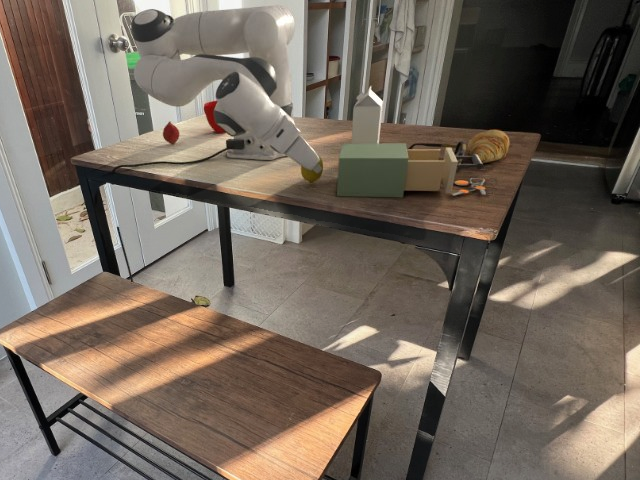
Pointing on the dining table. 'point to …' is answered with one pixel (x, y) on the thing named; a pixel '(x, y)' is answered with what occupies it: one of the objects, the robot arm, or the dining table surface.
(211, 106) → the ceramic cup
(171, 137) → the onion
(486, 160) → the croissant
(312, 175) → the lemon
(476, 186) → the key chain
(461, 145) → the sunglasses
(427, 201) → the dining table surface
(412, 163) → the drawer
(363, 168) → the cabinet
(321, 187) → the dining table surface
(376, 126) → the milk carton
